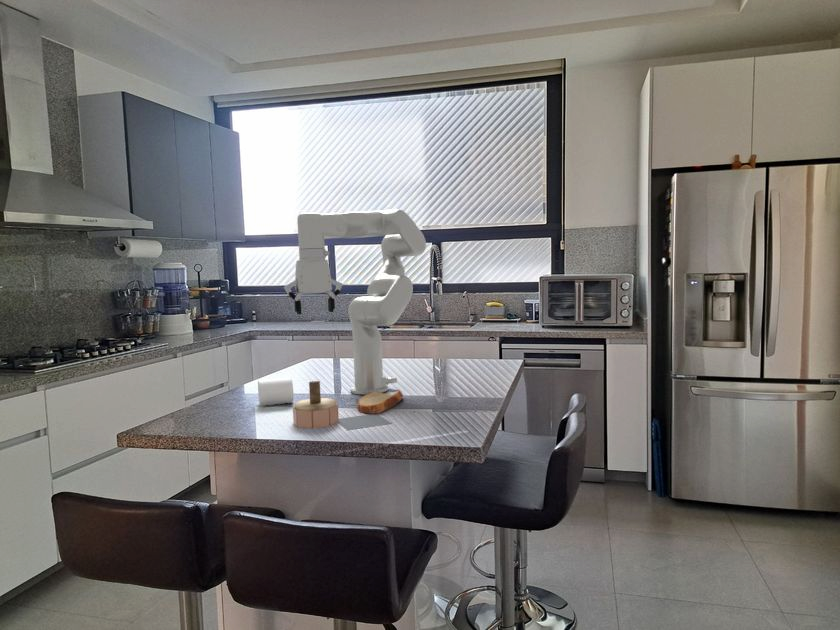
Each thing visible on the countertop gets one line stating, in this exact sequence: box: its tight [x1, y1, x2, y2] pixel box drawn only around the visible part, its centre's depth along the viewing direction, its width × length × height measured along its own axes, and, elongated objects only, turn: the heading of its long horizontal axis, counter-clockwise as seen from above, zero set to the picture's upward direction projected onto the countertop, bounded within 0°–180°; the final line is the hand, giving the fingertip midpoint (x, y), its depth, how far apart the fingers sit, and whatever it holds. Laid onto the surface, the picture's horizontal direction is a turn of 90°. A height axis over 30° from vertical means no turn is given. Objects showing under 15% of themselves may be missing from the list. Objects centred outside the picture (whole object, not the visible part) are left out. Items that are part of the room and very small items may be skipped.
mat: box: [337, 413, 393, 431], centre depth 154 cm, size 12×12×1 cm
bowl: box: [292, 402, 340, 429], centre depth 154 cm, size 11×11×5 cm
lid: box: [293, 380, 337, 411], centre depth 154 cm, size 11×11×6 cm
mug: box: [257, 376, 294, 407], centre depth 181 cm, size 12×10×8 cm
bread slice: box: [356, 389, 404, 415], centre depth 172 cm, size 18×18×4 cm
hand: (315, 313), depth 173 cm, fingers open, 9 cm apart
